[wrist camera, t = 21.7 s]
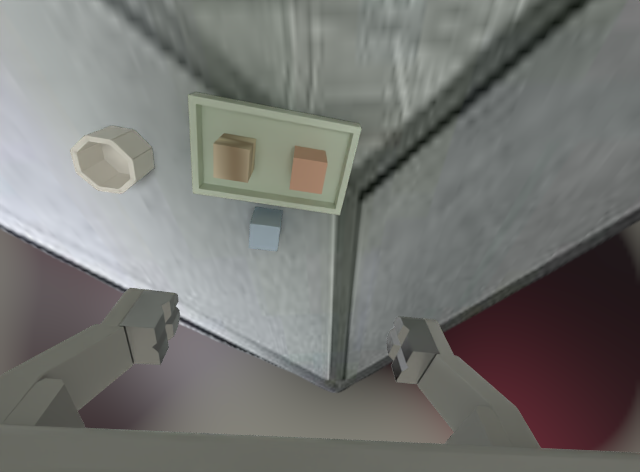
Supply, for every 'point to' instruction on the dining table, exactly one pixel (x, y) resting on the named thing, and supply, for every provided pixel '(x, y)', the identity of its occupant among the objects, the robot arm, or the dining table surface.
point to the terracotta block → (308, 170)
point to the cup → (112, 159)
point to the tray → (270, 151)
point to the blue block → (265, 229)
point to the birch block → (234, 157)
